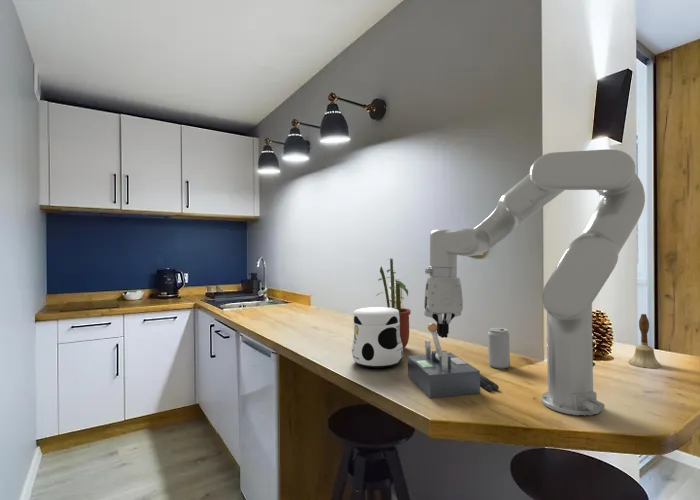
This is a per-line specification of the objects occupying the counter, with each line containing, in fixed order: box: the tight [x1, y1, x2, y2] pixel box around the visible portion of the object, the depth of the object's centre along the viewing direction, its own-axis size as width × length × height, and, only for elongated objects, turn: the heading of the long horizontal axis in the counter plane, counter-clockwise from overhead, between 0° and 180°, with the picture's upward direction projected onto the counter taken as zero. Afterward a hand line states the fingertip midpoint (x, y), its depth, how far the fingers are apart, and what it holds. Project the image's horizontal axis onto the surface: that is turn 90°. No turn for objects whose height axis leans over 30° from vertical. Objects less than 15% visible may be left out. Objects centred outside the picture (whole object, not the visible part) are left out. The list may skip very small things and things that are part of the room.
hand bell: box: [628, 313, 662, 370], centre depth 121 cm, size 8×8×16 cm
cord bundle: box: [480, 373, 499, 392], centre depth 111 cm, size 18×3×2 cm, turn 10°
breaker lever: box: [427, 322, 442, 361], centre depth 109 cm, size 4×3×11 cm, turn 10°
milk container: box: [351, 306, 404, 369], centre depth 130 cm, size 17×17×18 cm
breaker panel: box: [407, 339, 481, 399], centre depth 109 cm, size 18×14×11 cm
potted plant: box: [375, 257, 412, 350], centre depth 149 cm, size 17×16×35 cm
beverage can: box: [487, 327, 511, 370], centre depth 123 cm, size 6×6×12 cm
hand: (442, 336), depth 110 cm, fingers closed
